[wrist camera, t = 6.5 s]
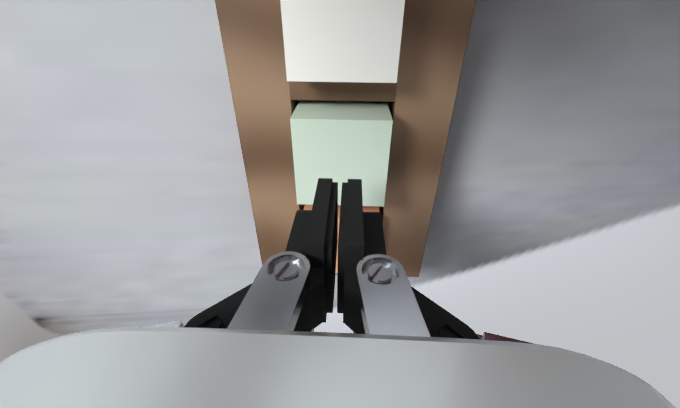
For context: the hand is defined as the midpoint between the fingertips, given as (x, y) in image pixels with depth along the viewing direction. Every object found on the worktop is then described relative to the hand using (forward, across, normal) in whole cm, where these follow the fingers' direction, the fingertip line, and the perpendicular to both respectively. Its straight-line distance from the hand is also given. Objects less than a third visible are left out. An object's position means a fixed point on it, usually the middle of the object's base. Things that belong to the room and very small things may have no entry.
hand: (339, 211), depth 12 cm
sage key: (+7, 0, 0) cm, 7 cm away
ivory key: (+7, 0, -6) cm, 9 cm away
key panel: (+8, 0, 0) cm, 9 cm away
